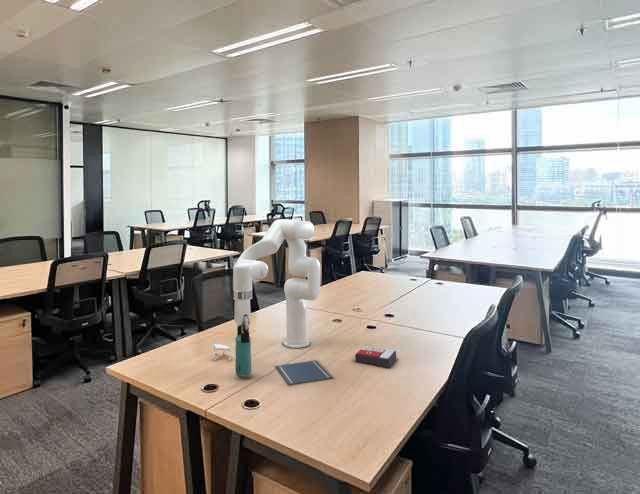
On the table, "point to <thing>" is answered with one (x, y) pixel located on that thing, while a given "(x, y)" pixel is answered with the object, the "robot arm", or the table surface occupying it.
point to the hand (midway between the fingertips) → (243, 339)
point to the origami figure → (221, 347)
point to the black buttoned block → (376, 356)
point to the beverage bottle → (243, 356)
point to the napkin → (303, 372)
